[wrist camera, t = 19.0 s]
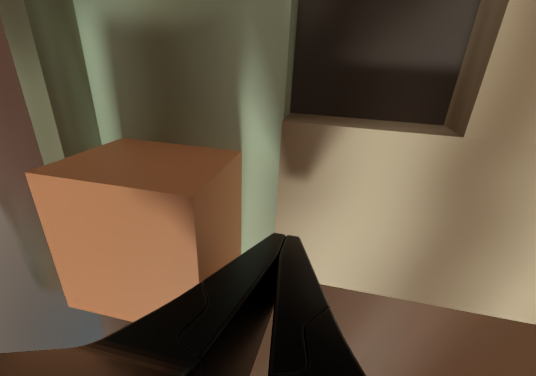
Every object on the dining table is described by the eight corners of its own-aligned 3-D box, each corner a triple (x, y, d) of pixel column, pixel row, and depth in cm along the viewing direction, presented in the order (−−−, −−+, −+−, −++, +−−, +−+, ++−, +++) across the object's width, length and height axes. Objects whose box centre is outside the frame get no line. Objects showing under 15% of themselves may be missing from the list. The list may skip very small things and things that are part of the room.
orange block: (242, 151, 11) (193, 196, 7) (241, 260, 13) (202, 338, 9) (121, 137, 11) (24, 172, 8) (139, 241, 14) (68, 306, 10)
